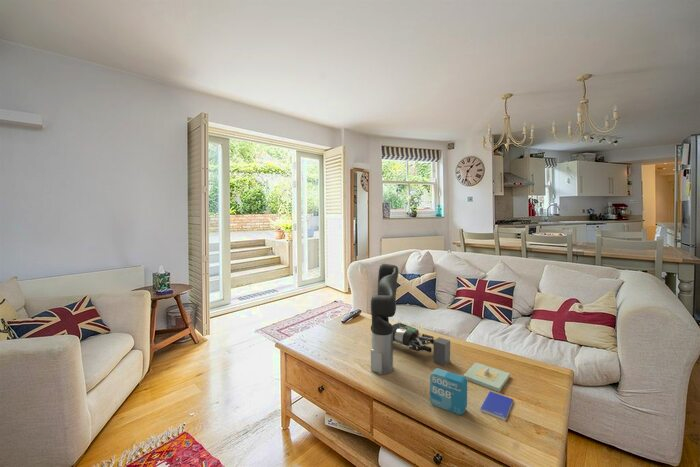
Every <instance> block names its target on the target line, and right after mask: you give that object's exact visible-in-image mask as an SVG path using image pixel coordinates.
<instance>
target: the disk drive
mask: <svg viewBox="0 0 700 467" xmlns="http://www.w3.org/2000/svg"><path fill="white" fill-rule="evenodd" d="M391 325H392V326H394V327H398V328H402V329H406V330H410V331H413V332H416V334H417V335H418V334H419V332H420V331H419V329H418V328H415V327H412V326H410V325H407V324H404V323H402V322H397V323H394V324H391Z"/></svg>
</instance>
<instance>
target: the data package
mask: <svg viewBox="0 0 700 467" xmlns="http://www.w3.org/2000/svg"><path fill="white" fill-rule="evenodd" d="M429 383H430V384H429V401H430V403H431V404H432V405H433V406H436V407H438V408H440V409H443V410H446V411H449V412H450V413H453V414H456V415H459V416H461V415H463V414H464V413H465V411H466V409H467V407H468V380H467V379H466V378H465V377H464V376H463V375H461V374H457V373H453V372H451V371H447V370H445V369H441V368H435V369H434V370H433V371H432V372H431V374H430V376H429Z"/></svg>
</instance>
